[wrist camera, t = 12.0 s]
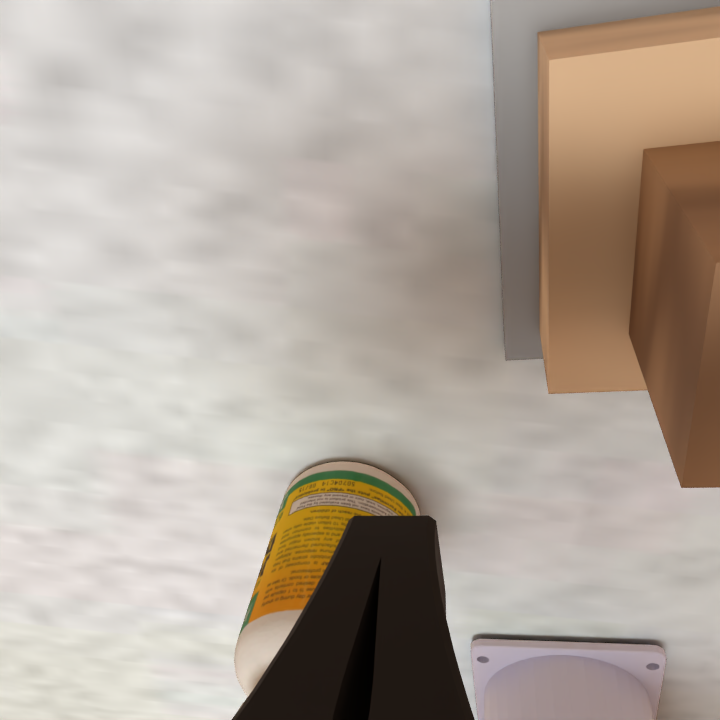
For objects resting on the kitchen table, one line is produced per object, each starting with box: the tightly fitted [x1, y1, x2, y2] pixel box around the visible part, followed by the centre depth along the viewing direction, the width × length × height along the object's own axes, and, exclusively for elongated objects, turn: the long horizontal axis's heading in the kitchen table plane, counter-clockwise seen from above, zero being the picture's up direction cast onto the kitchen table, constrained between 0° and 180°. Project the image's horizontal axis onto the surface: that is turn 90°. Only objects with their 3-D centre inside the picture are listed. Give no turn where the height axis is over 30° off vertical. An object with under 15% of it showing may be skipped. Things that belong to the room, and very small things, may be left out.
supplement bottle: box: [234, 461, 420, 709], centre depth 22 cm, size 5×5×10 cm
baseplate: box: [490, 0, 720, 360], centre depth 17 cm, size 10×10×1 cm
